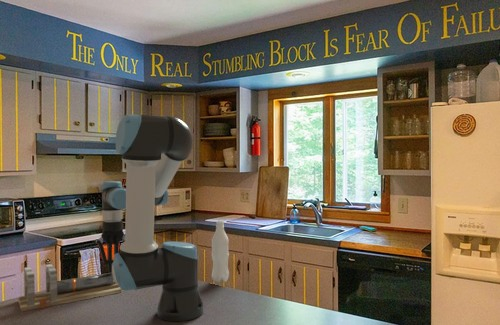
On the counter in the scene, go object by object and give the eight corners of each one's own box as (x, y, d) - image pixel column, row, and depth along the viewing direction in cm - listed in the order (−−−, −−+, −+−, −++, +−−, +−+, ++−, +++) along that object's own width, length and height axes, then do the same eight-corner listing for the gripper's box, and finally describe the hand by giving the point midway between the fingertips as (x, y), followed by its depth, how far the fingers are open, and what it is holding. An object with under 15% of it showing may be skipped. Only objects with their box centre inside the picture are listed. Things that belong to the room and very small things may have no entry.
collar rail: (121, 292, 154) (121, 262, 153) (21, 312, 135) (21, 277, 135) (112, 284, 164) (112, 255, 164) (18, 301, 145) (18, 268, 145)
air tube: (109, 284, 160) (109, 271, 160) (113, 287, 156) (113, 274, 156) (54, 293, 149) (54, 279, 149) (56, 297, 144) (56, 283, 144)
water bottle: (220, 277, 172) (219, 219, 172) (232, 280, 168) (232, 221, 167) (208, 281, 167) (207, 221, 166) (220, 285, 162) (220, 223, 162)
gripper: (126, 217, 165) (126, 275, 165) (93, 220, 157) (93, 280, 158) (131, 220, 158) (132, 279, 159) (97, 223, 151) (98, 285, 152)
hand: (113, 280), depth 158 cm, fingers closed
